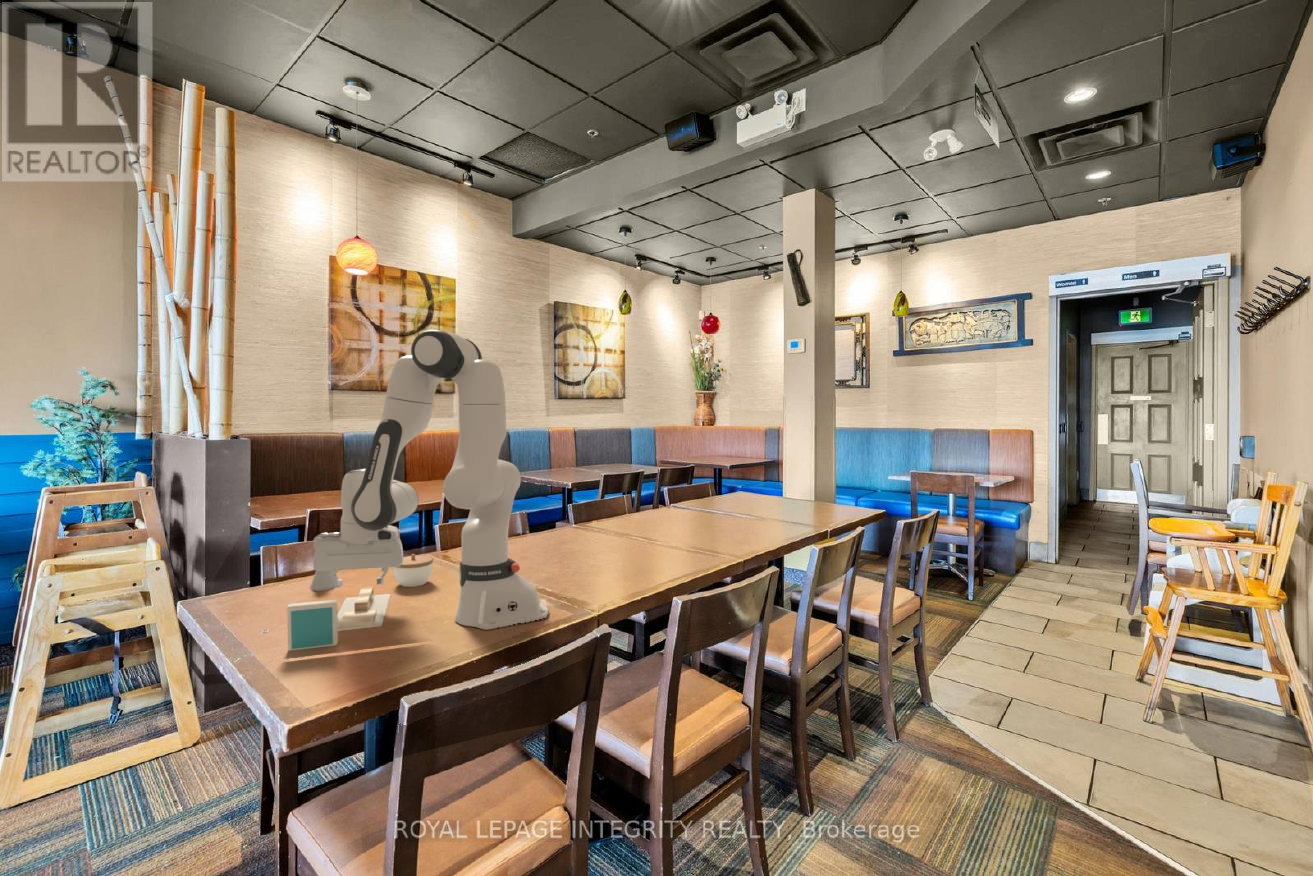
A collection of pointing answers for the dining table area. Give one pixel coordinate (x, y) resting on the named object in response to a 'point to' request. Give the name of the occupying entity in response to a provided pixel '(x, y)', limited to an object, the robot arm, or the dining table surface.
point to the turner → (361, 610)
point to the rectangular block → (312, 624)
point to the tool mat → (377, 603)
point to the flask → (322, 581)
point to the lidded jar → (414, 571)
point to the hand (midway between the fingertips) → (359, 585)
